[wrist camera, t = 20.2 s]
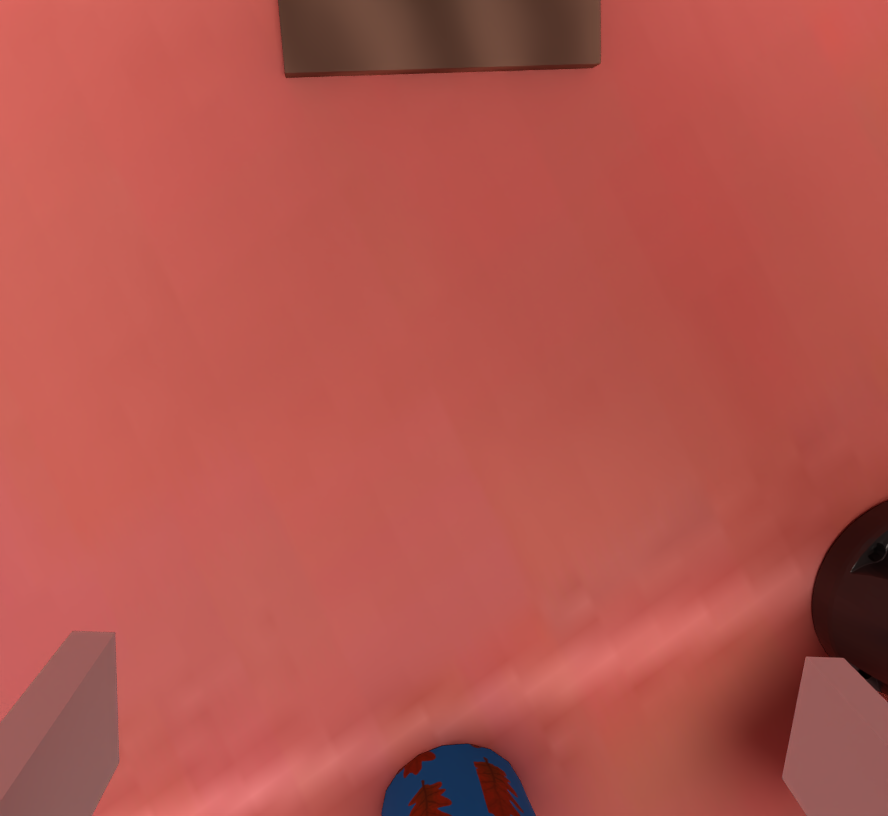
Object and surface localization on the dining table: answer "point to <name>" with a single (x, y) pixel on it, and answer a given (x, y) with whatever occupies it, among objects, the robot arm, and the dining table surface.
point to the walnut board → (437, 36)
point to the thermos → (457, 785)
